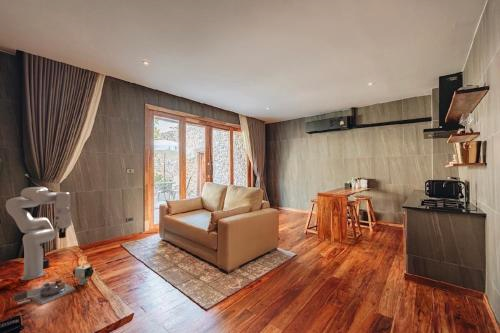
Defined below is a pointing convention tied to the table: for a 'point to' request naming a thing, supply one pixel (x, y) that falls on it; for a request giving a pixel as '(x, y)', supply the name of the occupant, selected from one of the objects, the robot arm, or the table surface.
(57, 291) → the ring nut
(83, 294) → the table surface
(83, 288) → the table surface
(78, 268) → the pneumatic valve
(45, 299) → the flange plate
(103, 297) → the table surface
